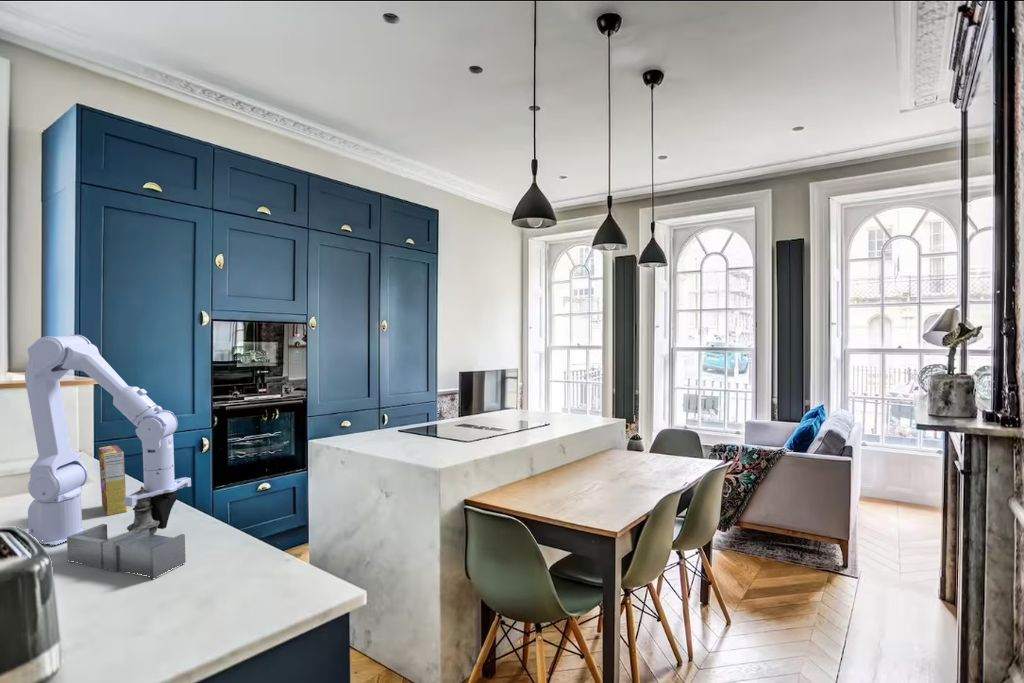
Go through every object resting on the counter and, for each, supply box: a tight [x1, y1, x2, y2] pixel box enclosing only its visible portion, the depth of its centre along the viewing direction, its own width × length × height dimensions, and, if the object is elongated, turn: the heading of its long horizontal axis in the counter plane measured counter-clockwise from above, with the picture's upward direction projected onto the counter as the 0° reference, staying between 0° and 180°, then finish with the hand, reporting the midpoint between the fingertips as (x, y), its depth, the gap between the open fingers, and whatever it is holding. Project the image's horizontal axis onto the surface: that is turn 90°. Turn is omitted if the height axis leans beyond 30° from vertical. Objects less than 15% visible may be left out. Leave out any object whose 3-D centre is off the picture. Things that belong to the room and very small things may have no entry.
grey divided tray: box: [66, 523, 187, 579], centre depth 108 cm, size 23×7×6 cm, turn 73°
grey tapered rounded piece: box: [126, 486, 160, 535], centre depth 118 cm, size 6×6×12 cm
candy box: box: [98, 445, 128, 516], centre depth 137 cm, size 9×4×15 cm, turn 44°
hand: (160, 527), depth 122 cm, fingers closed
